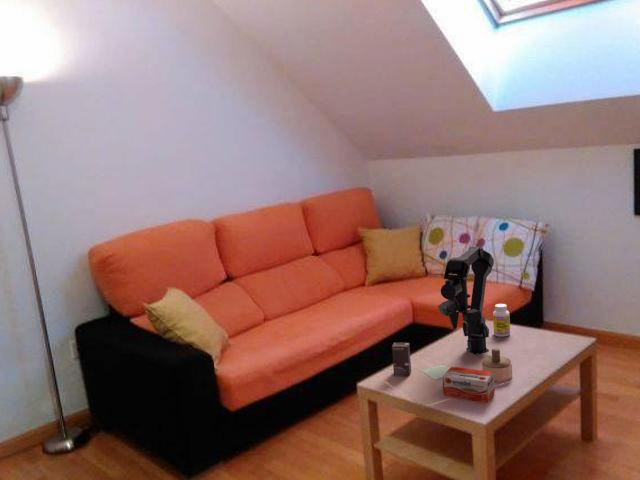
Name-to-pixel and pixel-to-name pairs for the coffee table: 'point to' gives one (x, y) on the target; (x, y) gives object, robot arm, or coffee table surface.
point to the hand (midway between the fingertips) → (461, 332)
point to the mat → (436, 371)
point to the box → (401, 359)
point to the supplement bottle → (501, 320)
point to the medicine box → (469, 384)
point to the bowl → (500, 372)
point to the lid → (496, 360)
